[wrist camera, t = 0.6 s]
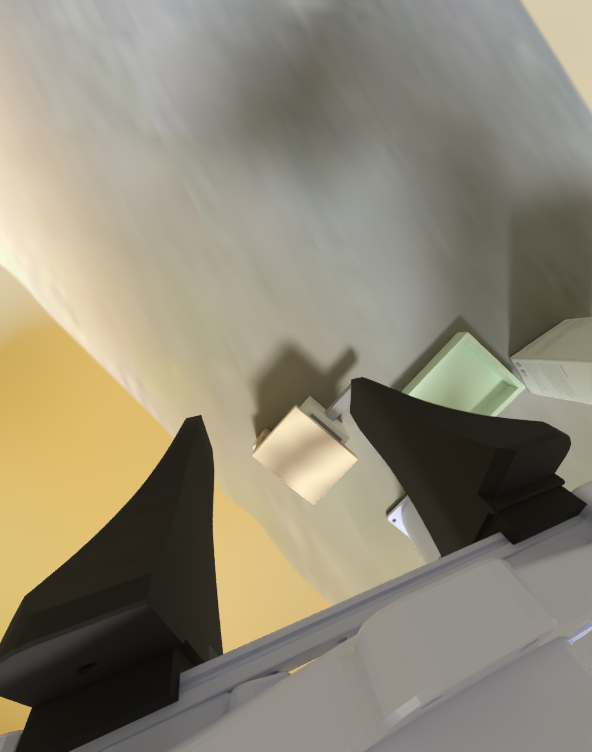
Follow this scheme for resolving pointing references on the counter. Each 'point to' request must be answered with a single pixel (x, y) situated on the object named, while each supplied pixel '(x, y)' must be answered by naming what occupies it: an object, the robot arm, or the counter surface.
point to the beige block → (303, 454)
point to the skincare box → (559, 362)
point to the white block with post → (330, 414)
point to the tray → (465, 379)
